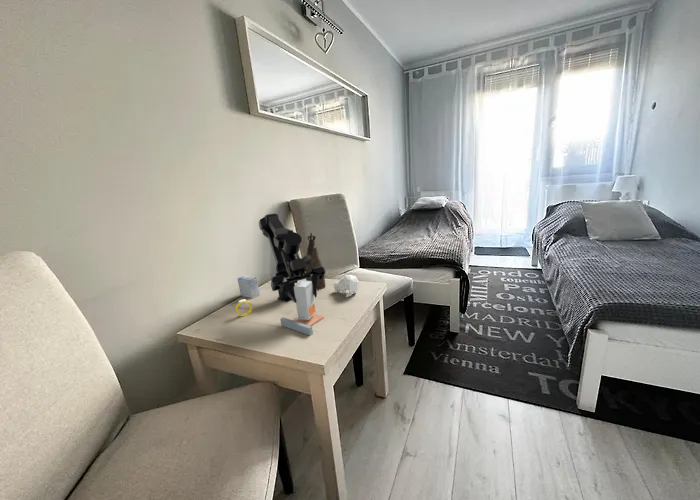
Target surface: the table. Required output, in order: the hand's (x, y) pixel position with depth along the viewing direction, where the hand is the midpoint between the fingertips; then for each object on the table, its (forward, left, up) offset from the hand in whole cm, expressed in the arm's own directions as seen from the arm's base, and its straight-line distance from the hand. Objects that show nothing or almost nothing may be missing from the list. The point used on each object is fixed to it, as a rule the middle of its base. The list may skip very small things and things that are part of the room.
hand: (306, 299), depth 98 cm
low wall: (+6, 0, -8) cm, 10 cm away
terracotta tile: (-1, -1, -8) cm, 8 cm away
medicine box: (-6, -43, -9) cm, 44 cm away
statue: (-27, -22, -9) cm, 36 cm away
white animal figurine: (-26, -4, -9) cm, 27 cm away
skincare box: (-1, -1, -7) cm, 7 cm away
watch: (+7, -27, -9) cm, 29 cm away
